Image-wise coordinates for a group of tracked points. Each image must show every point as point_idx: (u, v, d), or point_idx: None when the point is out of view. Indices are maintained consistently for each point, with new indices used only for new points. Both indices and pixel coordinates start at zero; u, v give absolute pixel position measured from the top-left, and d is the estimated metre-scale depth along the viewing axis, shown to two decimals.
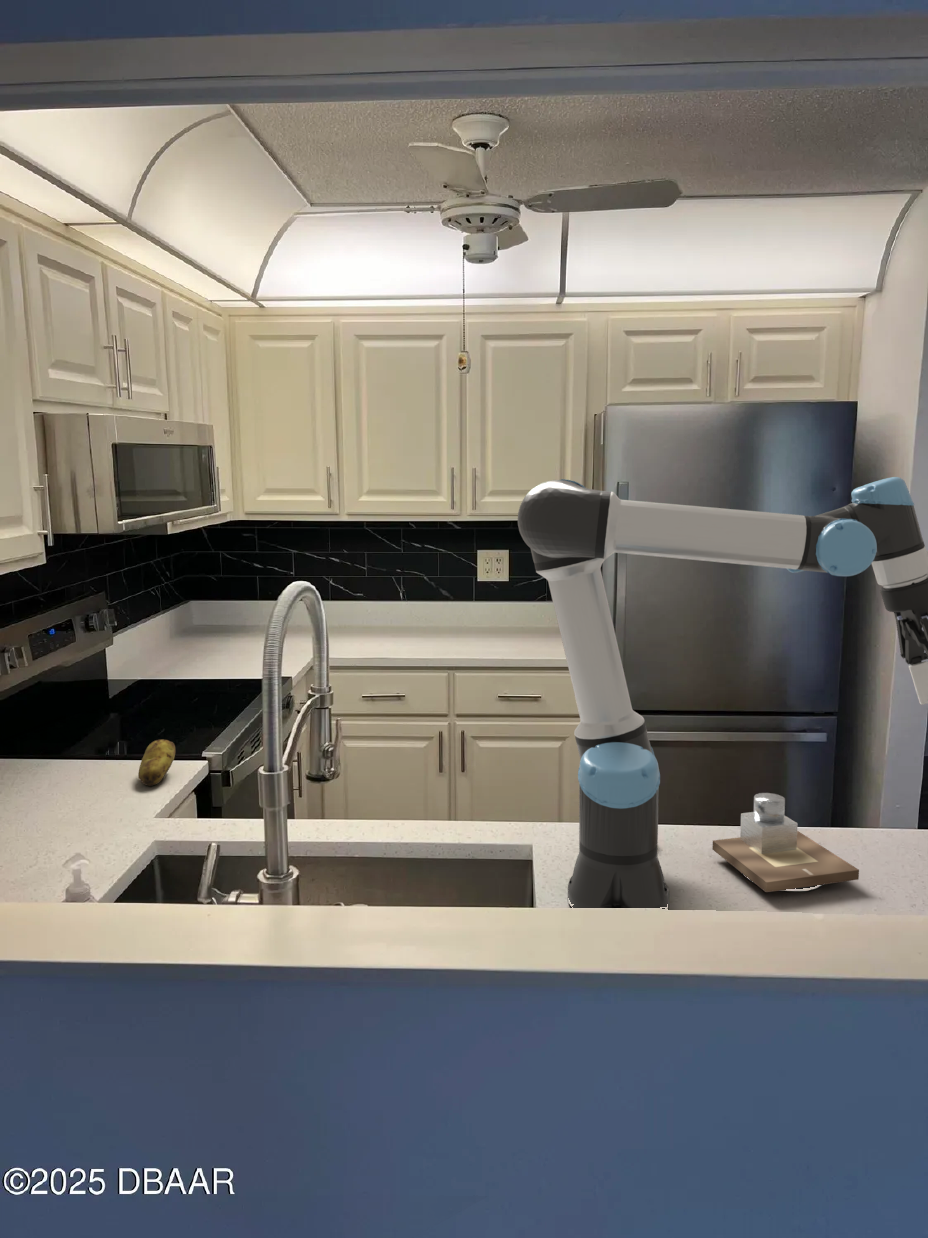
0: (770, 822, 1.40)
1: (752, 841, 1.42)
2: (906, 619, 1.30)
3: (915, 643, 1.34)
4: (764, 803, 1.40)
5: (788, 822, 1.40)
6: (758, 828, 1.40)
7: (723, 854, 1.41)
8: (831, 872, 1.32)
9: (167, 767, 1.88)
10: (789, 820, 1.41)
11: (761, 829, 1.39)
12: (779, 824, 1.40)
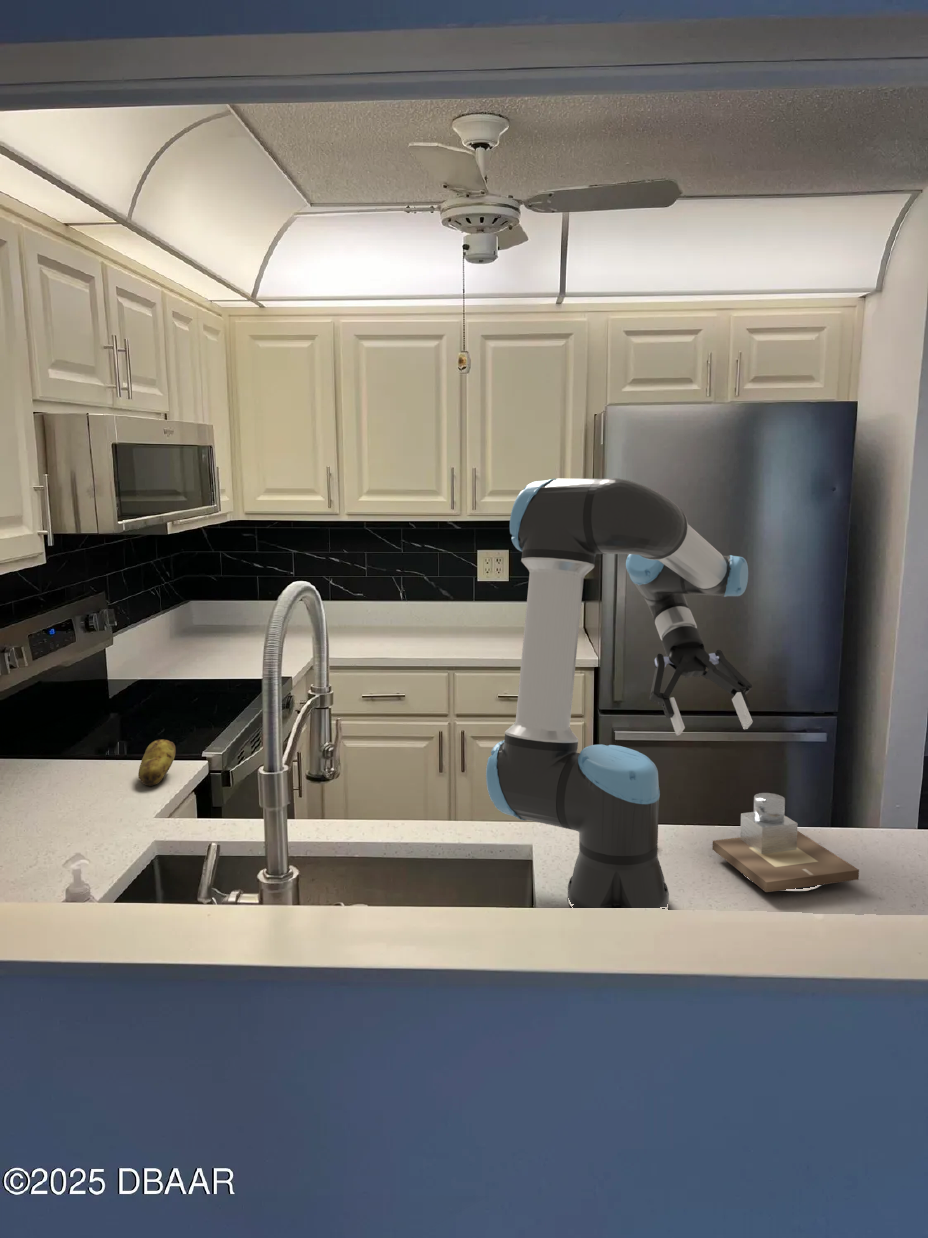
0: (770, 822, 1.40)
1: (752, 841, 1.42)
2: None
3: None
4: (764, 803, 1.40)
5: (788, 822, 1.40)
6: (758, 828, 1.40)
7: (723, 854, 1.41)
8: (831, 872, 1.32)
9: (167, 767, 1.88)
10: (789, 820, 1.41)
11: (761, 829, 1.39)
12: (779, 824, 1.40)
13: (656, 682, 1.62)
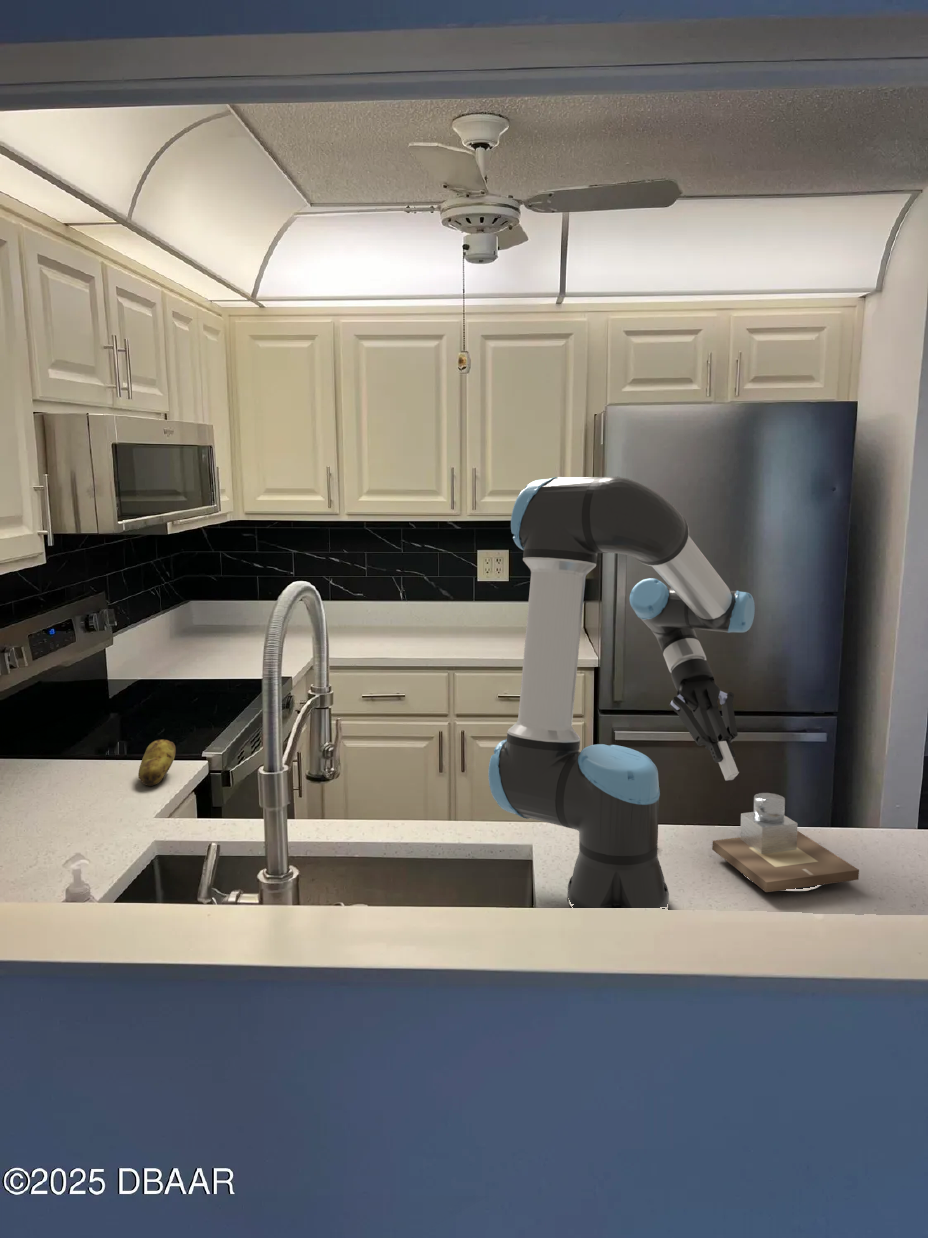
0: (770, 822, 1.40)
1: (752, 841, 1.42)
2: (692, 683, 1.64)
3: None
4: (764, 803, 1.40)
5: (788, 822, 1.40)
6: (758, 828, 1.40)
7: (723, 854, 1.41)
8: (831, 872, 1.32)
9: (167, 767, 1.88)
10: (789, 820, 1.41)
11: (761, 829, 1.39)
12: (779, 824, 1.40)
13: (695, 726, 1.58)
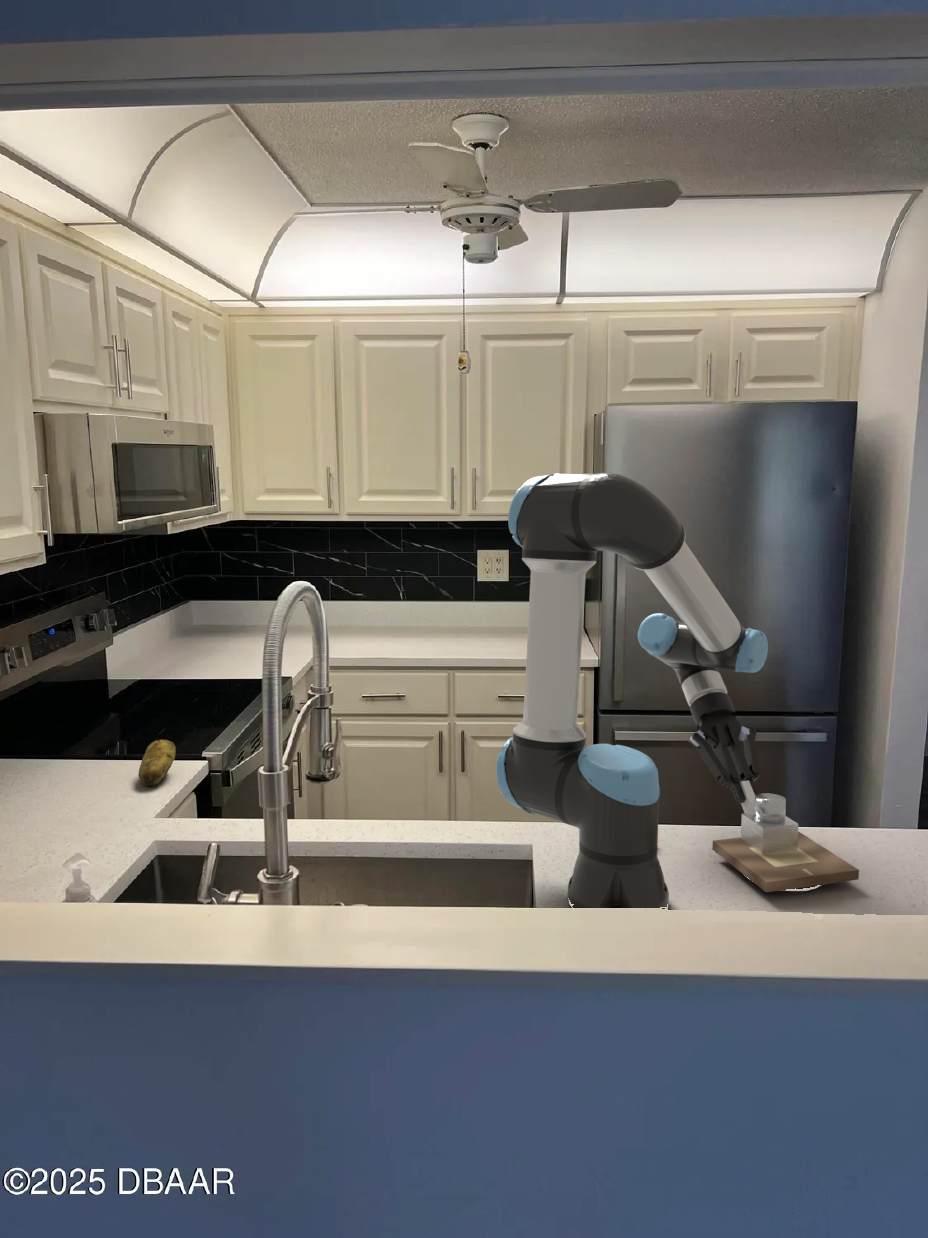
0: (771, 823, 1.40)
1: (752, 842, 1.41)
2: (713, 718, 1.56)
3: None
4: (765, 803, 1.40)
5: (789, 822, 1.40)
6: (759, 829, 1.39)
7: (723, 854, 1.41)
8: (831, 872, 1.32)
9: (167, 767, 1.88)
10: (790, 821, 1.41)
11: (762, 830, 1.39)
12: (780, 824, 1.39)
13: (717, 765, 1.50)
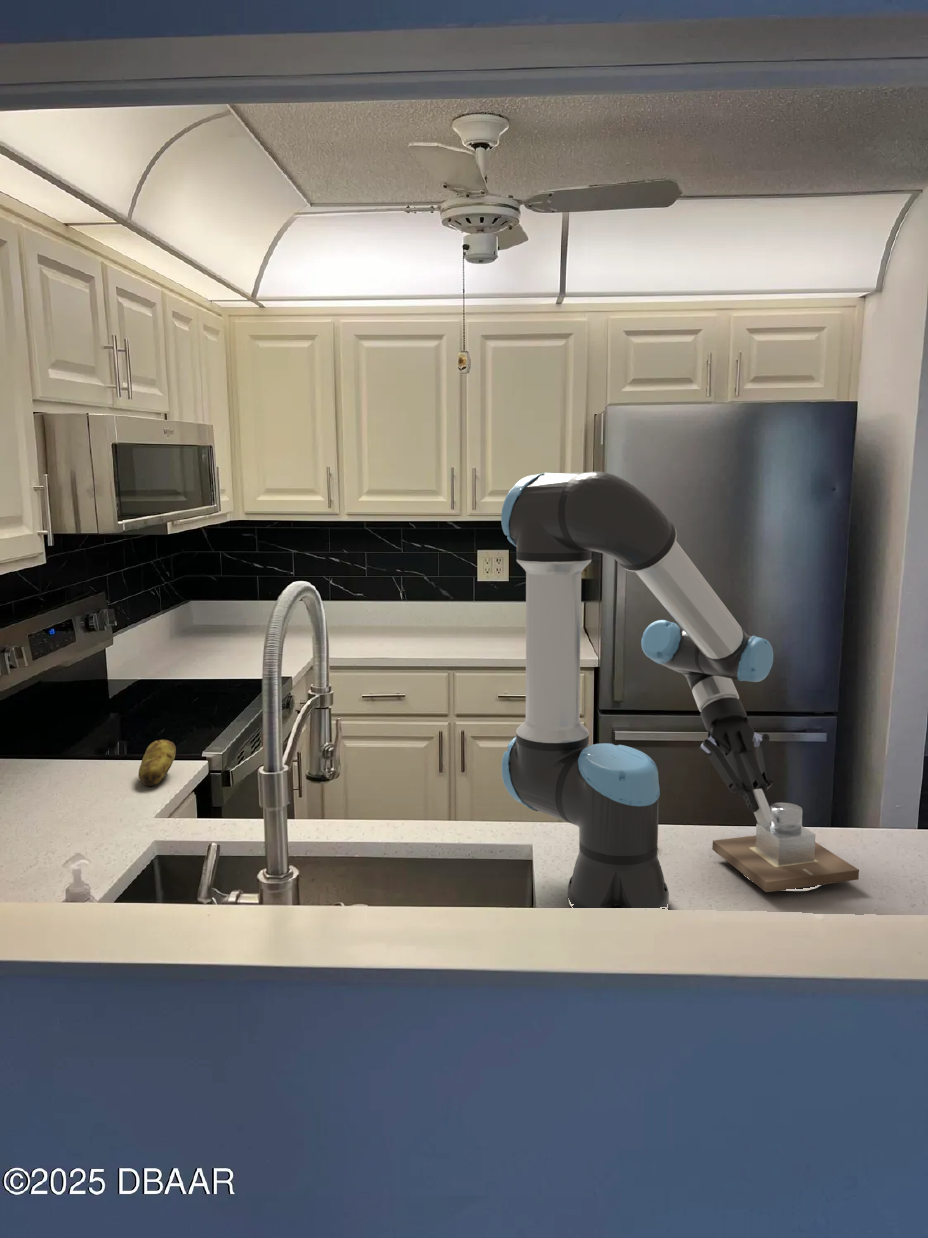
0: (787, 833, 1.35)
1: (768, 852, 1.37)
2: (724, 724, 1.52)
3: None
4: (781, 813, 1.35)
5: (805, 833, 1.36)
6: (775, 839, 1.35)
7: (723, 854, 1.41)
8: (831, 872, 1.32)
9: (167, 767, 1.88)
10: (806, 831, 1.37)
11: (778, 840, 1.34)
12: (797, 835, 1.35)
13: (729, 773, 1.46)
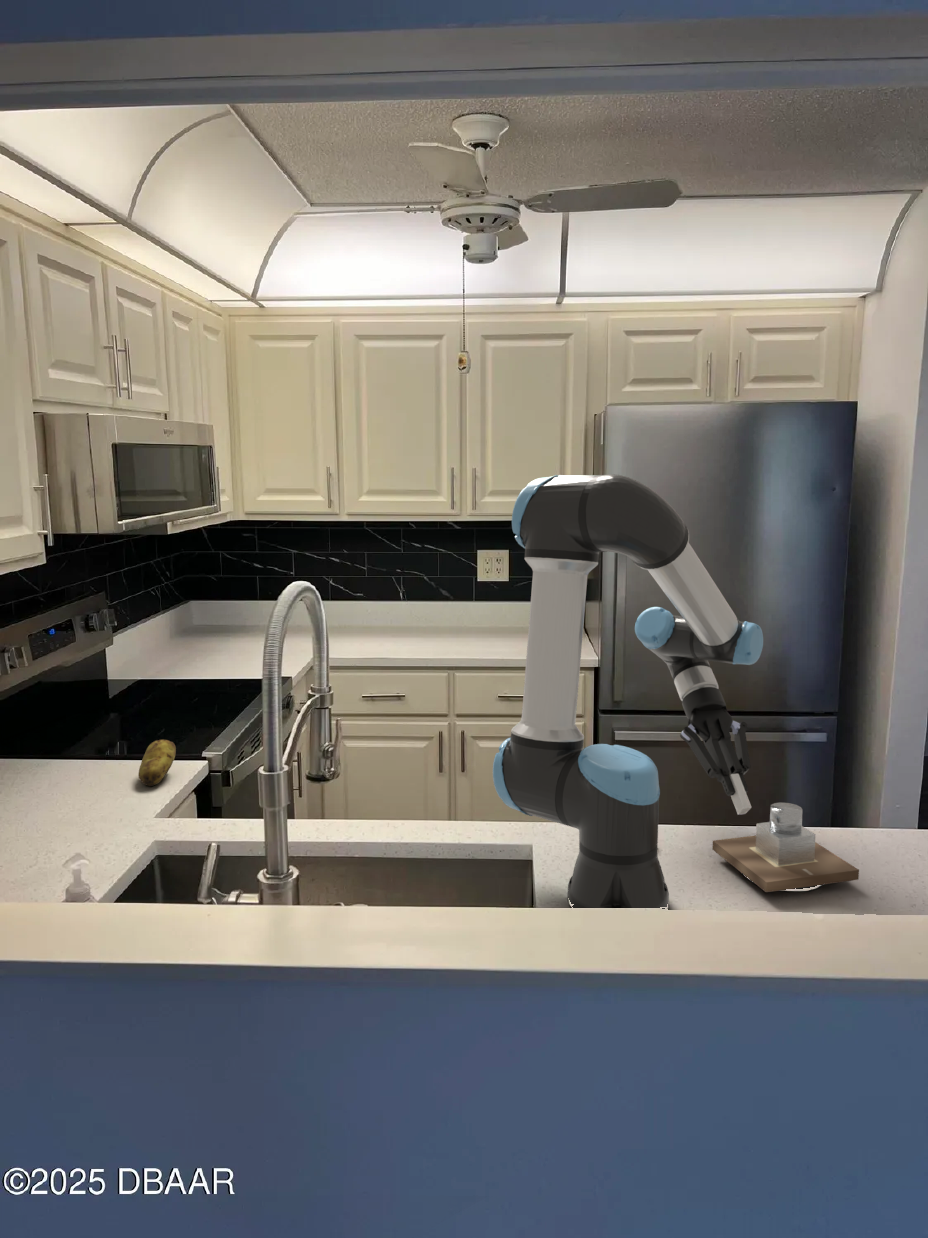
0: (787, 833, 1.35)
1: (768, 853, 1.37)
2: (704, 713, 1.59)
3: None
4: (781, 813, 1.35)
5: (805, 833, 1.36)
6: (775, 839, 1.35)
7: (723, 854, 1.41)
8: (831, 872, 1.32)
9: (167, 767, 1.88)
10: (806, 831, 1.37)
11: (778, 840, 1.34)
12: (797, 835, 1.35)
13: (707, 758, 1.53)
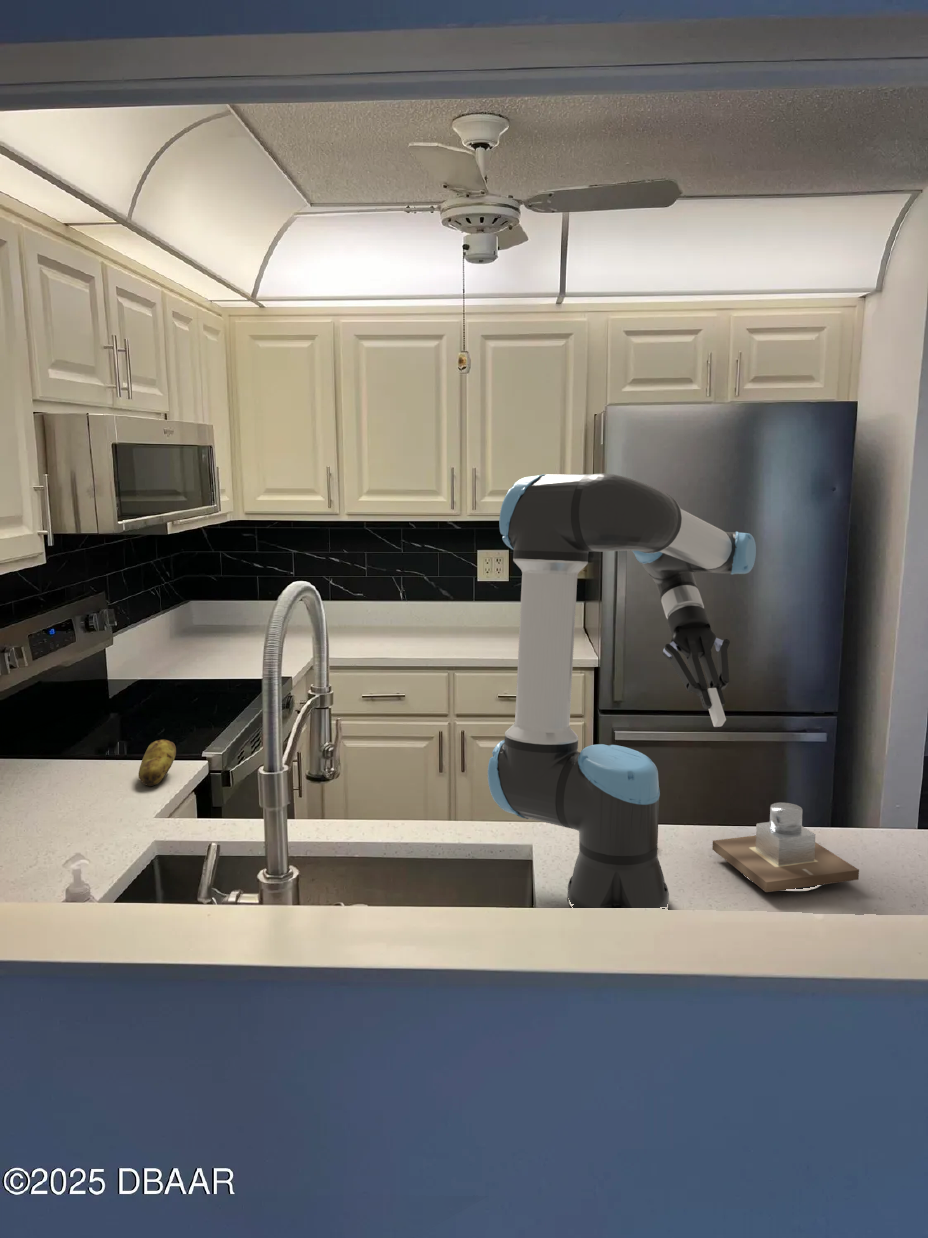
0: (787, 833, 1.35)
1: (768, 853, 1.37)
2: (687, 630, 1.64)
3: None
4: (781, 813, 1.35)
5: (805, 833, 1.36)
6: (775, 839, 1.35)
7: (723, 854, 1.41)
8: (831, 872, 1.32)
9: (167, 767, 1.88)
10: (806, 831, 1.37)
11: (778, 840, 1.34)
12: (797, 835, 1.35)
13: (685, 673, 1.58)
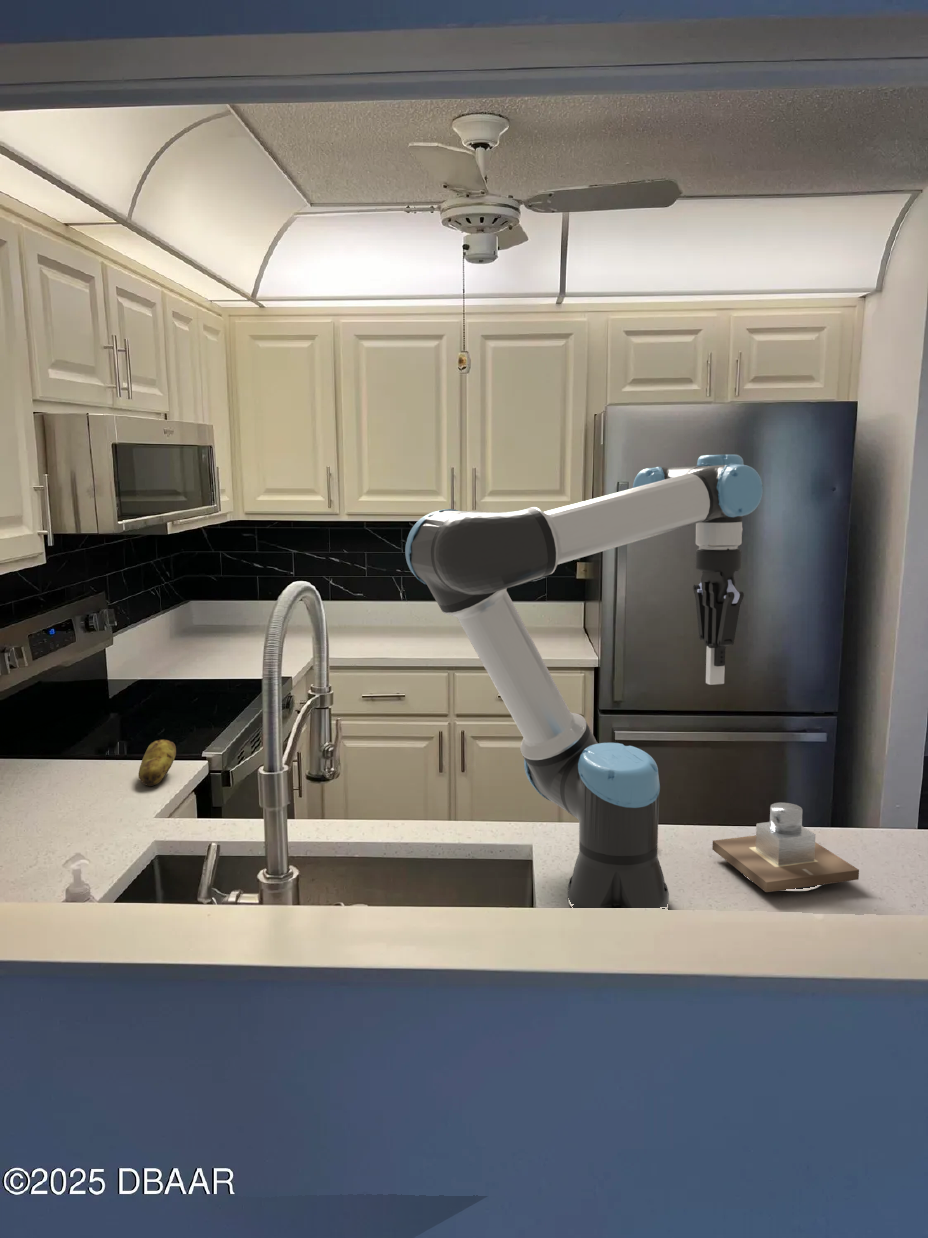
0: (787, 833, 1.35)
1: (768, 853, 1.37)
2: (707, 573, 1.47)
3: None
4: (781, 813, 1.35)
5: (805, 833, 1.36)
6: (775, 839, 1.35)
7: (723, 854, 1.41)
8: (831, 872, 1.32)
9: (167, 767, 1.88)
10: (806, 831, 1.37)
11: (778, 840, 1.34)
12: (797, 835, 1.35)
13: (698, 623, 1.51)
